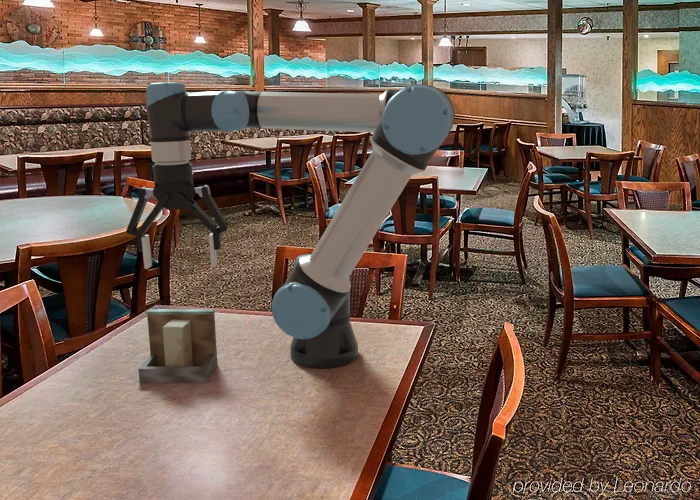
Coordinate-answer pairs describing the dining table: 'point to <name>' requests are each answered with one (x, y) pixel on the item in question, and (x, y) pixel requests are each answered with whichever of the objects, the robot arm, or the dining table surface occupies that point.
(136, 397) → the dining table surface
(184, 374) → the cleat board
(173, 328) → the box
